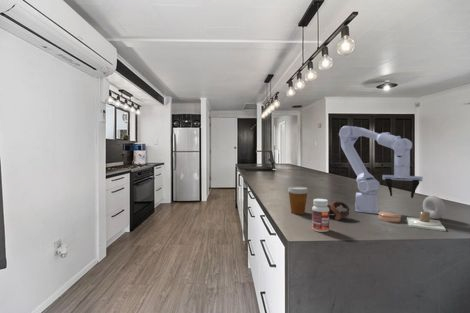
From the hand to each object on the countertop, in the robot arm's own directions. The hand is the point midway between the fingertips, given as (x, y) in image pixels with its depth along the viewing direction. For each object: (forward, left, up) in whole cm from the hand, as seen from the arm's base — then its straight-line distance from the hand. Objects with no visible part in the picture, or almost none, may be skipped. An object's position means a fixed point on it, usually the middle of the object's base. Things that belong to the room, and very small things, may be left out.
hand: (401, 196), depth 109 cm
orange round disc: (-4, -6, -9) cm, 12 cm away
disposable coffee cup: (-42, -14, -10) cm, 45 cm away
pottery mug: (-25, -14, -10) cm, 31 cm away
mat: (+8, -7, -9) cm, 14 cm away
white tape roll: (+12, +6, -10) cm, 17 cm away
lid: (+8, -7, -9) cm, 13 cm away
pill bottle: (-27, -35, -10) cm, 45 cm away
